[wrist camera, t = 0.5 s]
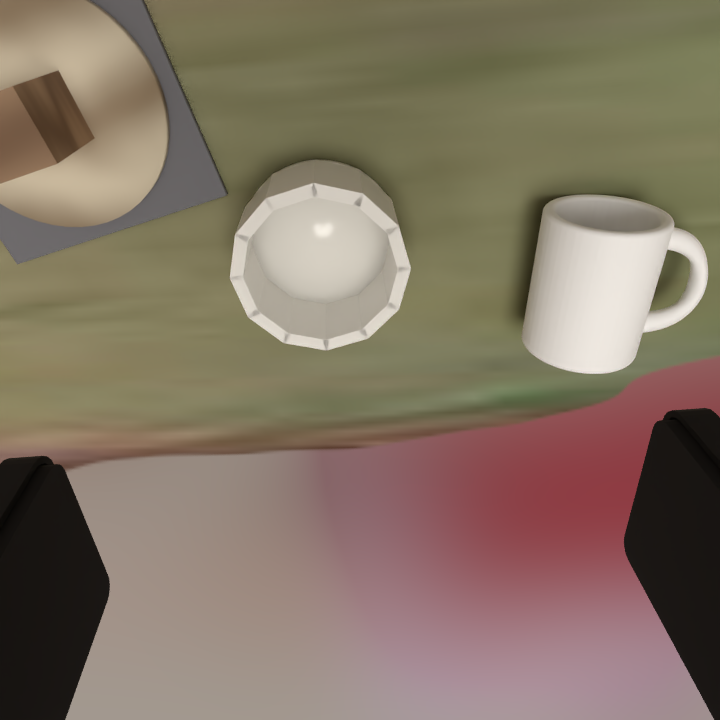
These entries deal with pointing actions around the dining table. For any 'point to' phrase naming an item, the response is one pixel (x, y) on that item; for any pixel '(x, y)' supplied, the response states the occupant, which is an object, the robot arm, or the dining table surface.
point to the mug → (603, 281)
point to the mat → (179, 175)
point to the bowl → (319, 255)
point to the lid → (76, 114)
